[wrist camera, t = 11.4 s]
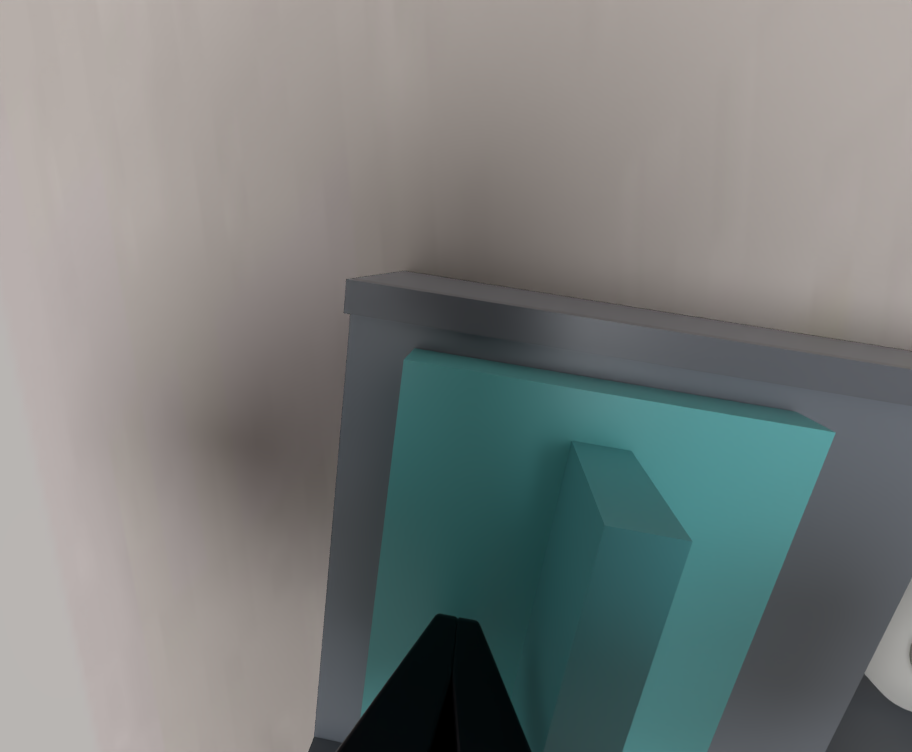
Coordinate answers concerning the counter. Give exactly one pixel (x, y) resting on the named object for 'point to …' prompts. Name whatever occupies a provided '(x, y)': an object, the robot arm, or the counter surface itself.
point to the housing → (681, 370)
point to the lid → (588, 542)
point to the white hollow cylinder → (895, 656)
